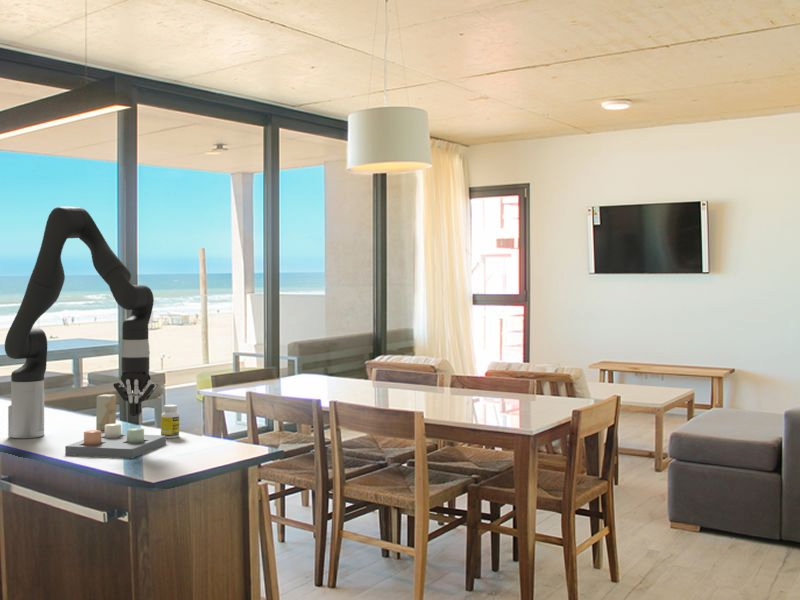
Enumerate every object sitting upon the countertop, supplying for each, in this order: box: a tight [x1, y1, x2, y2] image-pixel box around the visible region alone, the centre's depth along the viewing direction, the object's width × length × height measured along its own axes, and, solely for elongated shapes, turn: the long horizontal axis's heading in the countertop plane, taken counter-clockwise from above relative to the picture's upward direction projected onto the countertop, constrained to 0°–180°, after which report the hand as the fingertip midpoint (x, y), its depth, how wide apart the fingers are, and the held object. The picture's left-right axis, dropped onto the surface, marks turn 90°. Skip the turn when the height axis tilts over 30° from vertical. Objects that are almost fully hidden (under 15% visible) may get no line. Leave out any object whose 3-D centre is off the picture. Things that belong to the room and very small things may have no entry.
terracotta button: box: [83, 429, 102, 446], centre depth 226 cm, size 5×5×4 cm
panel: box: [64, 432, 167, 459], centre depth 230 cm, size 20×20×2 cm
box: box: [95, 393, 117, 431], centre depth 261 cm, size 5×4×11 cm
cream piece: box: [104, 423, 122, 439], centre depth 236 cm, size 5×5×4 cm
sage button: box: [126, 427, 145, 444], centre depth 229 cm, size 5×5×4 cm
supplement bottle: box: [160, 404, 180, 439], centre depth 249 cm, size 5×5×10 cm
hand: (135, 415), depth 229 cm, fingers closed
